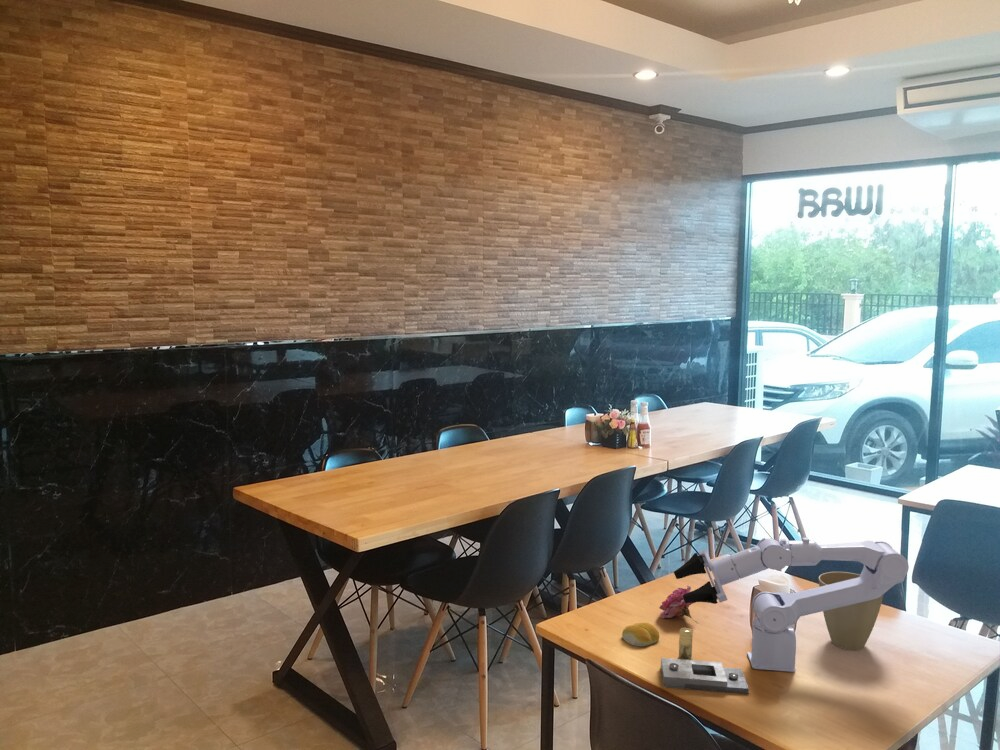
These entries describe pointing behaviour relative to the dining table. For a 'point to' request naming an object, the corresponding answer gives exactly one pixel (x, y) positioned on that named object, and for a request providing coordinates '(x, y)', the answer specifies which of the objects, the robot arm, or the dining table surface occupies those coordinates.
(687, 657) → the brass pin
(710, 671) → the grey plate with knobs
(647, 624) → the bread roll
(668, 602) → the flower
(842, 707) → the dining table surface
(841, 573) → the plant pot
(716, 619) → the dining table surface
